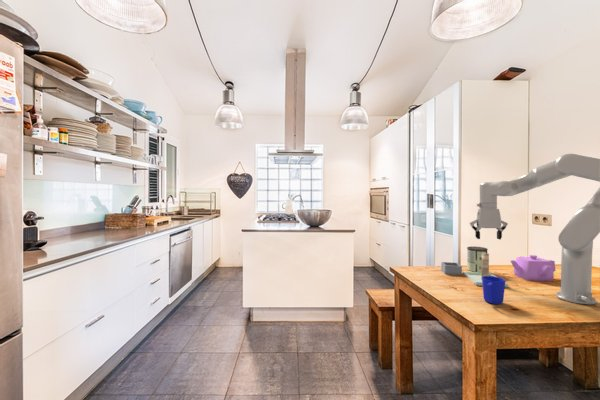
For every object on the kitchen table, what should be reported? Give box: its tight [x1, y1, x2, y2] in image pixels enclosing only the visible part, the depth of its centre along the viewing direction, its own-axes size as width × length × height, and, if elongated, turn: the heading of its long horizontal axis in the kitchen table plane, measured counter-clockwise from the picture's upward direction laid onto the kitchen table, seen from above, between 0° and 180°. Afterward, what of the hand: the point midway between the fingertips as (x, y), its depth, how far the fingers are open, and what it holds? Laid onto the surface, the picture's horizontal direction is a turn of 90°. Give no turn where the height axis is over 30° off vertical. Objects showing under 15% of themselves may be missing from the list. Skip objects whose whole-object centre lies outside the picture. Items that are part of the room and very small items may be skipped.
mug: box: [482, 276, 506, 305], centre depth 120 cm, size 8×12×10 cm
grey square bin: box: [440, 261, 463, 276], centre depth 165 cm, size 9×9×6 cm
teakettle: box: [510, 254, 556, 282], centre depth 156 cm, size 17×17×12 cm
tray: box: [462, 271, 509, 289], centre depth 151 cm, size 20×14×2 cm
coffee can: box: [466, 246, 489, 273], centre depth 169 cm, size 10×10×14 cm
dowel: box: [481, 252, 490, 280], centre depth 150 cm, size 3×3×14 cm
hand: (488, 238), depth 149 cm, fingers open, 9 cm apart
